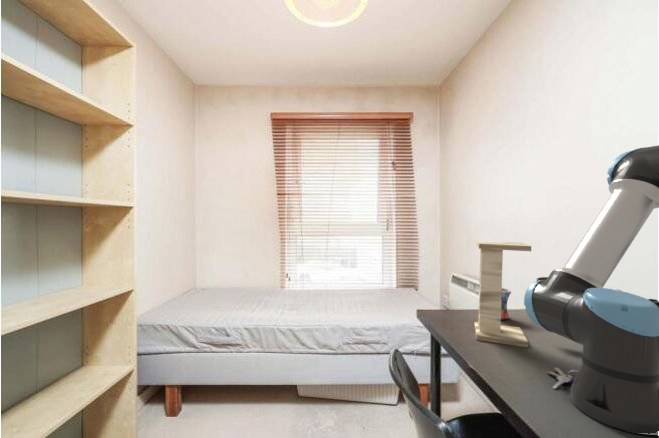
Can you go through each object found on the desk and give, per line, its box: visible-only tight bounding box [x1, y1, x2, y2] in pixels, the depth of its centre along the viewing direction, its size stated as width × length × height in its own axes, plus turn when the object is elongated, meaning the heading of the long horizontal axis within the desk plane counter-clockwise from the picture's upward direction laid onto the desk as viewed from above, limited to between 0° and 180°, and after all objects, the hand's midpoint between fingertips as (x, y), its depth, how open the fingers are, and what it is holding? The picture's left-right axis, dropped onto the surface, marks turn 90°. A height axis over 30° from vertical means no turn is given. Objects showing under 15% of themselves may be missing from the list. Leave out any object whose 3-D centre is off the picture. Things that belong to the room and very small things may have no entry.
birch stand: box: [473, 240, 532, 348], centre depth 105 cm, size 14×14×30 cm
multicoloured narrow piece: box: [501, 287, 512, 320], centre depth 126 cm, size 12×9×11 cm
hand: (583, 297), depth 97 cm, fingers closed on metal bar, 3 cm apart
